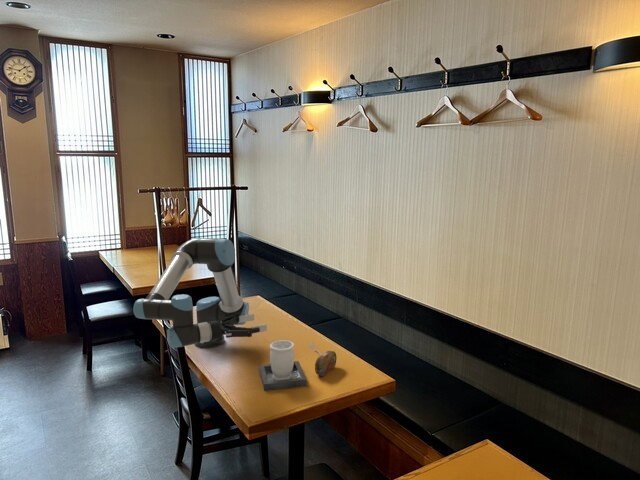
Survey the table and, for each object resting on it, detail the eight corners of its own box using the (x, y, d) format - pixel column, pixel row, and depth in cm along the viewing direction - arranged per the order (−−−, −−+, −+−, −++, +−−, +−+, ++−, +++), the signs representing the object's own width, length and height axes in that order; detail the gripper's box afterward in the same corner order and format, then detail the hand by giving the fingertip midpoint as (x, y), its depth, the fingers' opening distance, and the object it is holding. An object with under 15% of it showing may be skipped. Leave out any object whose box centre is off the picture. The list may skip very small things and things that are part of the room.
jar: (290, 384, 192) (290, 350, 190) (266, 381, 194) (266, 348, 192) (296, 373, 203) (296, 340, 200) (274, 370, 205) (274, 338, 202)
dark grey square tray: (259, 371, 205) (258, 365, 205) (298, 367, 210) (298, 361, 209) (264, 391, 188) (264, 384, 187) (307, 386, 192) (307, 379, 192)
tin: (319, 379, 198) (319, 361, 197) (313, 377, 200) (313, 359, 199) (337, 366, 211) (337, 349, 209) (331, 364, 213) (331, 347, 211)
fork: (327, 366, 212) (327, 362, 212) (307, 346, 234) (307, 343, 233) (333, 364, 213) (333, 361, 213) (312, 345, 235) (312, 342, 235)
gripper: (201, 329, 190) (249, 321, 200) (218, 352, 169) (272, 341, 179) (200, 312, 189) (249, 304, 199) (218, 333, 167) (271, 323, 178)
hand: (260, 321), depth 189 cm, fingers open, 13 cm apart
